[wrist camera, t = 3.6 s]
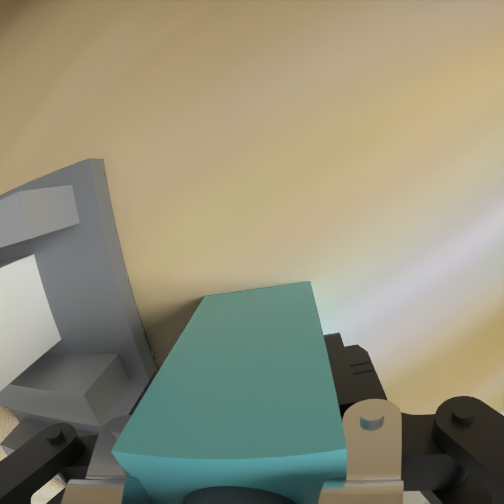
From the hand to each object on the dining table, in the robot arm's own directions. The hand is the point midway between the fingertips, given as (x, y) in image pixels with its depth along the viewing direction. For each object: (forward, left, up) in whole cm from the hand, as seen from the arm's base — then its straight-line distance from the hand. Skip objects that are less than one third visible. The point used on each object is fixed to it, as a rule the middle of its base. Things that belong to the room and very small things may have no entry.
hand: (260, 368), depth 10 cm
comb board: (+11, +3, -2) cm, 12 cm away
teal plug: (0, 0, -2) cm, 2 cm away
